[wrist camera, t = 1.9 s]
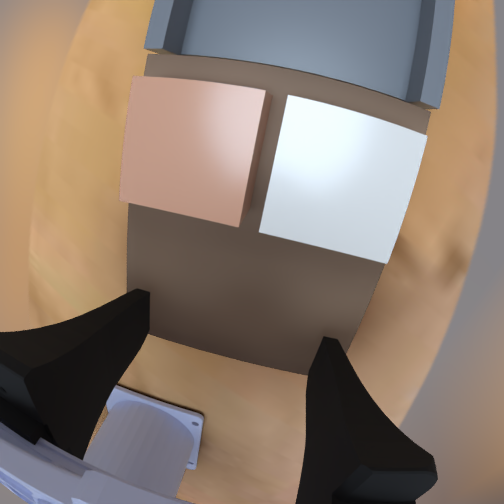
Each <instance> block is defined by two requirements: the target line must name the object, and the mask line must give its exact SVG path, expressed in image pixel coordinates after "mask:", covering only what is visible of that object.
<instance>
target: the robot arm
mask: <svg viewBox="0 0 504 504" xmlns="http://www.w3.org/2000/svg"><path fill="white" fill-rule="evenodd" d="M149 330H150V292H148V291H145V290H142V289H139V288H136V289H134V290H132V291H130V292H128V293H126V294H124V295H122V296H120V297H118V298H117V299H115V300H113V301H111V302H109V303H107V304H105V305H103V306H101V307H98V308H96V309H94V310H92V311H89V312H87V313H85V314H83V315H80V316H78V317H75V318H73V319H70V320H67V321H64V322H61V323H57V324H53V325H49V326H45V327H41V328H36V329H30V330H23V331H15V332H0V483H2V484H3V485H4V486H5V487H7V488H8V489H9V490H11V491H12V492H13V493H15V494H16V495H17V496H19V497H20V498H21V499H23V500H24V501H25V502H27V503H28V504H194V503H191V502H187V501H184V500H180V499H177V498H176V495H177V492H178V489H179V486H180V483H181V481H182V478H183V475H184V472H185V469H186V468H188V469H191V470H194V469H196V466H197V460H198V453H199V447H200V440H201V434H202V427H203V421H204V417H203V416H202V415H201V414H199V413H196V412H193V411H189V410H186V409H183V408H180V407H176V406H173V405H170V404H167V403H164V402H161V401H158V400H155V399H152V398H150V397H147V396H144V395H141V394H139V393H136V392H133V391H131V390H128V389H125V388H123V387H120V386H118V385H116V384H117V383H118V381H119V380H120V378H121V377H122V375H123V374H124V372H125V371H126V369H127V368H128V366H129V365H130V363H131V362H132V361H133V359H134V358H135V356H136V355H137V353H138V352H139V350H140V349H141V347H142V345H143V343H144V341H145V339H146V337H147V334H148V332H149ZM105 404H106V405H107V409H108V413H109V414H108V415H107V417H106V419H105V420H104V422H103V424H102V426H101V427H100V429H99V431H98V432H97V434H96V436H95V437H94V439H93V441H92V443H91V444H90V446H89V448H88V450H87V447H88V444H89V441H90V439H91V436H92V434H93V431H94V429H95V426H96V424H97V422H98V419H99V417H100V415H101V413H102V411H103V408H104V406H105ZM86 450H87V451H86ZM85 452H86V453H85ZM437 480H438V477H437V471H436V465H435V462H434V458H433V456H432V455H431V454H429V453H428V452H427V451H425V450H424V449H422V448H421V447H420V446H418V445H417V444H415V443H414V442H413V441H412V440H411V439H410V438H408V437H407V436H406V435H405V434H404V433H403V432H401V431H400V430H399V429H398V428H397V427H396V426H395V425H394V424H393V423H392V421H391V420H390V419H389V418H388V417H387V416H386V415H385V414H384V413H383V412H382V410H381V409H380V408H379V407H378V405H377V404H376V403H375V402H374V400H373V399H372V398H371V396H370V395H369V393H368V392H367V390H366V389H365V387H364V386H363V384H362V383H361V381H360V379H359V378H358V376H357V374H356V372H355V371H354V369H353V367H352V365H351V363H350V361H349V359H348V358H347V356H346V354H345V352H344V350H343V348H342V346H341V344H340V342H339V340H338V339H335V338H330V337H325V336H323V339H322V341H321V343H320V346H319V348H318V351H317V353H316V355H315V358H314V360H313V362H312V365H311V367H310V369H309V372H308V380H307V388H306V443H305V452H304V460H303V466H302V472H301V478H300V484H299V489H298V494H297V499H296V504H416V502H415V500H416V499H417V498H419V497H420V496H421V495H423V494H424V493H426V492H427V491H428V490H429V489H431V488H432V487H433V486H434V484H435V483H436V481H437Z"/></svg>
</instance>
